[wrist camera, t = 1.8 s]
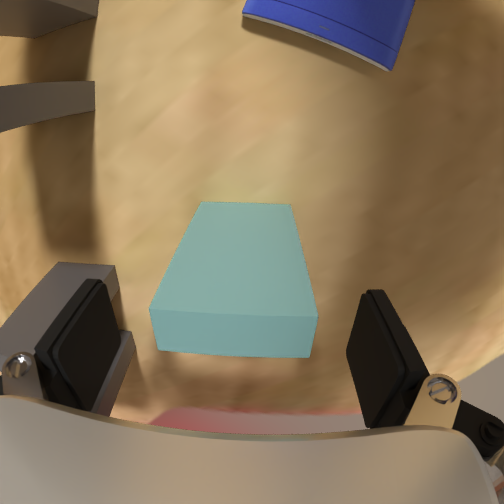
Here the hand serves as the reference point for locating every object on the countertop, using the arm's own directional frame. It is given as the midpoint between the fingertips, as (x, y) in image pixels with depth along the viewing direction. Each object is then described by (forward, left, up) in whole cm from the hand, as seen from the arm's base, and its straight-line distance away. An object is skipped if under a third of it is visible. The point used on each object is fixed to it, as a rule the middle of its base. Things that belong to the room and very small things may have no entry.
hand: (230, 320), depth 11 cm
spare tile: (0, 0, -8) cm, 8 cm away
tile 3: (+6, -12, -8) cm, 16 cm away
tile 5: (+12, -2, -8) cm, 14 cm away
